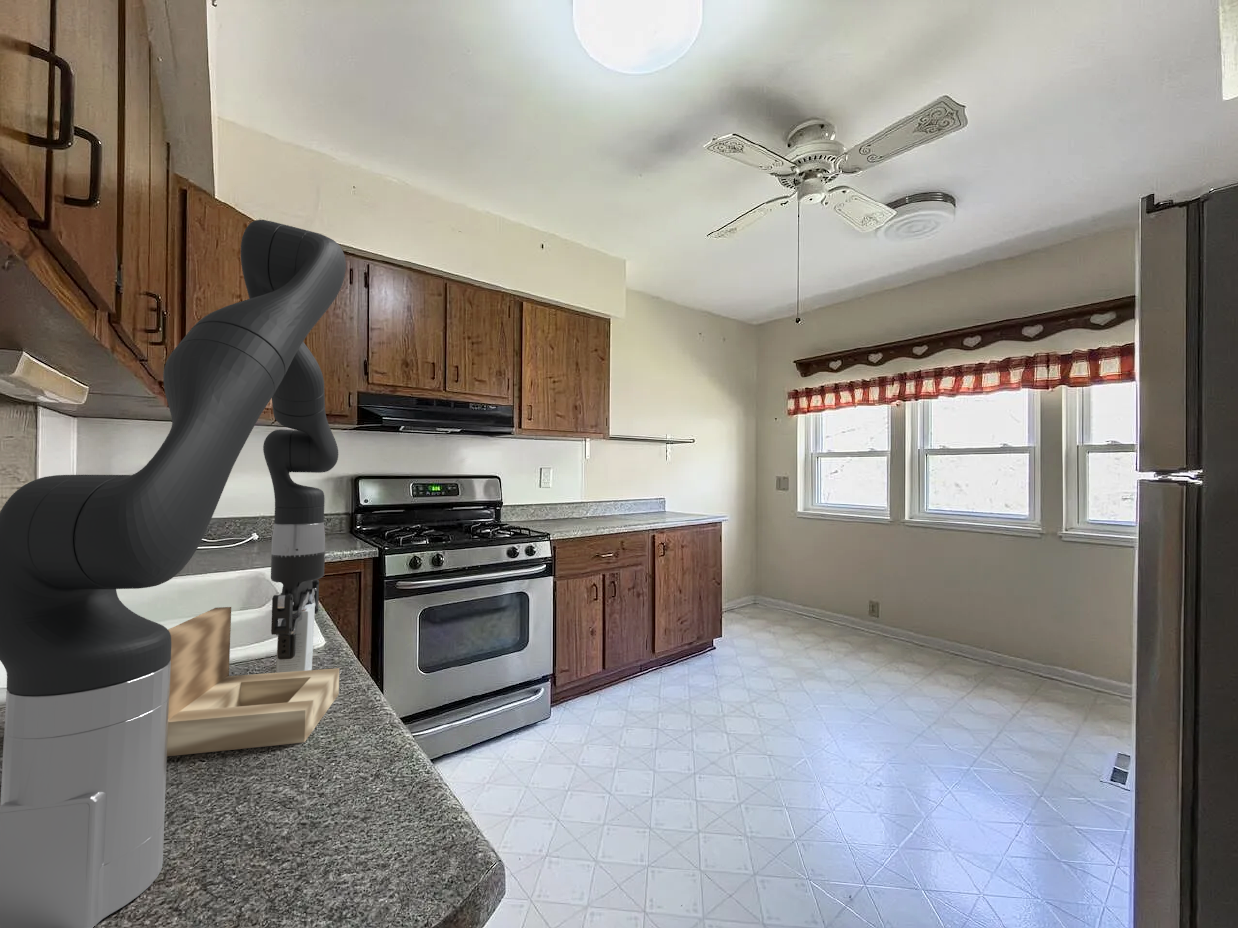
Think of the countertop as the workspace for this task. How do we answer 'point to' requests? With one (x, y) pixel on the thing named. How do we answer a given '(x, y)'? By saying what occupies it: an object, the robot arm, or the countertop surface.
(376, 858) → the countertop surface
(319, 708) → the wooden frame with backboard
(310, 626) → the skincare box
